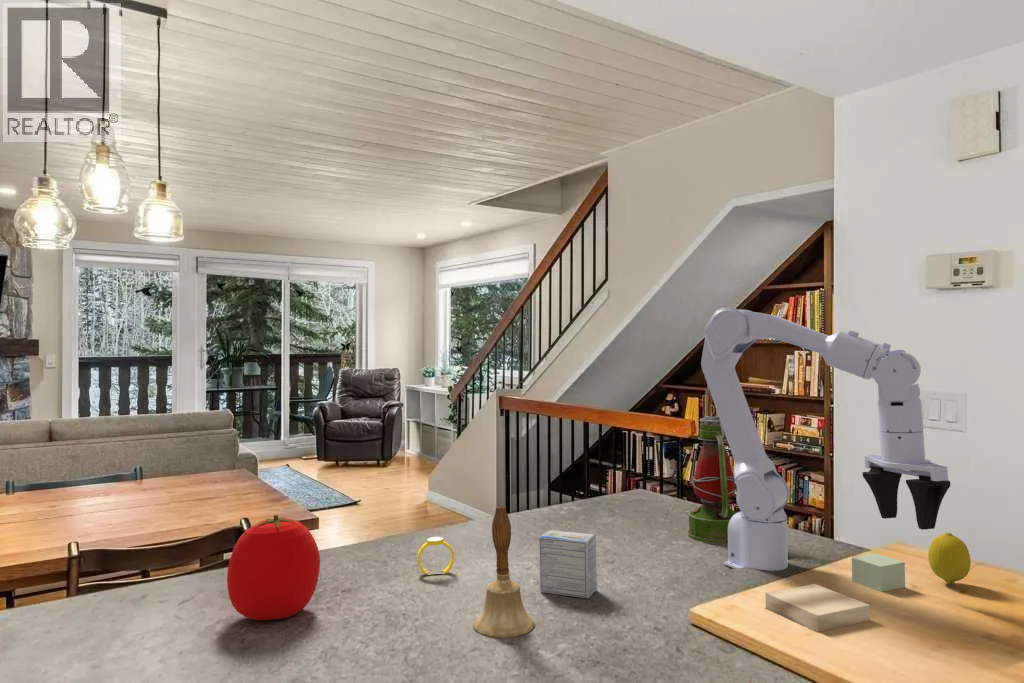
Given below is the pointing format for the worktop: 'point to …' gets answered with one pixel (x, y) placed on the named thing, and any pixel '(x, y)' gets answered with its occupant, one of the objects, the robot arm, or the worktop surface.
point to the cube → (878, 572)
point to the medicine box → (568, 563)
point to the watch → (435, 542)
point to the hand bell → (503, 590)
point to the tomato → (273, 569)
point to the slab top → (817, 607)
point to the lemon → (949, 558)
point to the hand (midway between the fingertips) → (907, 523)
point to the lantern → (712, 484)
